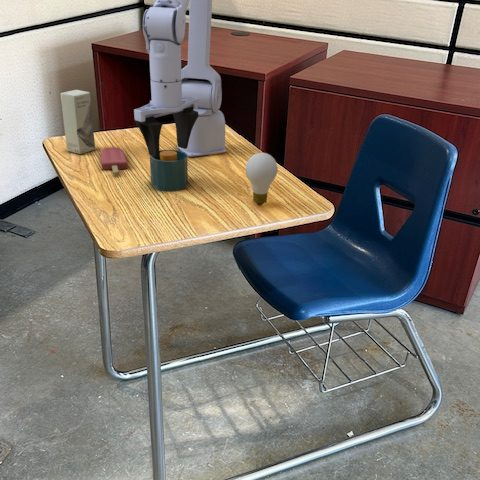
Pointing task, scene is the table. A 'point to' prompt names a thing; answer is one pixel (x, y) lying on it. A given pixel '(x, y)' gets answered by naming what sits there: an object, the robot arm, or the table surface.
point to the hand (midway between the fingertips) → (168, 151)
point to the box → (78, 121)
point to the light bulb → (261, 175)
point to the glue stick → (168, 155)
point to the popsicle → (113, 159)
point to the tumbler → (169, 172)
